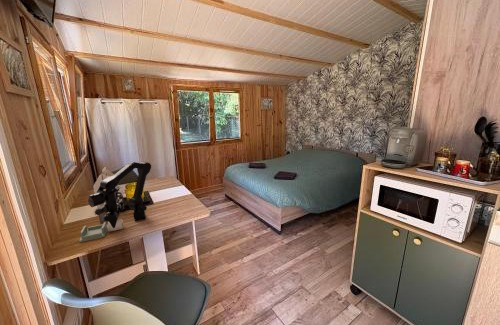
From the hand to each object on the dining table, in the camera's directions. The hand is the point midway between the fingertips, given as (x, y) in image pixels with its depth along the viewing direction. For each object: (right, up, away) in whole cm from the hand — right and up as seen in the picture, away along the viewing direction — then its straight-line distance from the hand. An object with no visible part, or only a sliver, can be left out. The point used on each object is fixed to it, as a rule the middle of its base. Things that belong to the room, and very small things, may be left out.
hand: (115, 224), depth 129 cm
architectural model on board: (-18, -1, +16) cm, 24 cm away
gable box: (-34, +6, +46) cm, 57 cm away
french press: (-18, +2, +29) cm, 34 cm away
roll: (0, -4, +1) cm, 4 cm away
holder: (-10, -5, -3) cm, 12 cm away
